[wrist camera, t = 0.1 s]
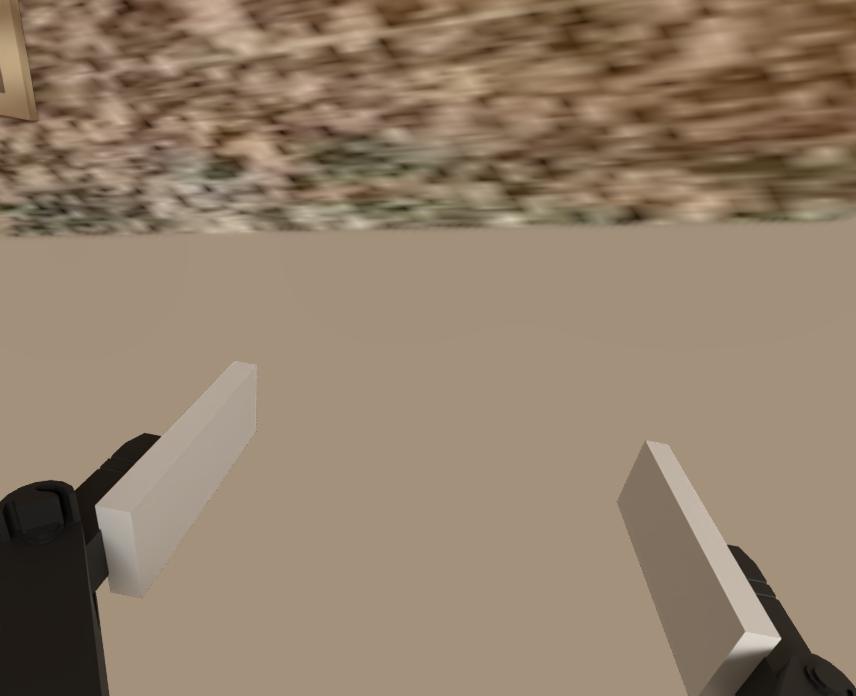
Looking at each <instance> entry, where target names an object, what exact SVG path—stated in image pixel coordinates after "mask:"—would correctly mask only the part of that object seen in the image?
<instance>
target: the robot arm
mask: <svg viewBox="0 0 856 696" xmlns="http://www.w3.org/2000/svg"><path fill="white" fill-rule="evenodd" d="M256 409H257V365H254V364H249V363H244V362H239V361H234V362H233V363H232V364H231V365H230V366H229V367H228V368H227V369H226V370H225V371H224V372H223V373H222V374H221V375H220V376H219V377H218V378H217V380H215V382H214V383H213V384H212V385H211V386H210V387H209V388H208V389H207V390H206V391H205V392H204V393H203V394H202V395H201V396H200V397H199V398H198V399H197V400H196V401H195V402H194V403H193V404H192V406H190V407H189V409H188V410H187V411H186V412H185V413H184V414H183V415H182V416H181V417H180V418H179V419H178V420H177V421H176V422H175V423H174V424H173V425H172V426H171V427H170V428H169V429H168V430H167V431H166V432H165V433H164V434H163V436H158V435H153V434H147V433H143V434H142V435H140V436H138V437H136V438H134V439H132V440H130V441H128V442H126V443H125V444H124V445H123V446H121V447H120V448H119V449H118V450H117V451H116V452H115V453H114V454H113V455H112V457H111V459H108V460H107V461H106V462H105V463H104V464H102V465H101V467H100V469H97V470H96V471H95V472H94V473H93V474H92V475H91V476H90V477H89V478H88V479H87V480H86V481H85V482H84V483H82V484H81V485H80V486H79V487H78V488H77V489H76V490H75V491H74V489H73V487H72V486H71V485H69V484H67V483H65V482H62V481H53V480H49V481H42V482H35V483H32V484H29V485H26V486H23V487H20V488H18V489H17V490H15V491H13V492H12V493H10V494H8V495H7V496H6V497H5V498H4V499H3V500H1V502H0V696H109V689H108V682H107V674H106V666H105V658H104V650H103V643H102V635H101V627H100V619H99V612H98V604H97V597H96V592H95V591H96V590H97V589H98V588H99V586H100V585H101V584H102V582H103V581H104V580H105V579H106V577H107V576H108V581H109V586H110V591H111V592H112V593H118V594H123V595H128V596H133V597H138V598H143V597H144V596H145V594H146V593H147V591H148V590H149V588H150V587H151V585H152V584H153V582H154V581H155V579H156V578H157V576H158V575H159V573H160V572H161V571H162V569H163V568H164V566H165V565H166V563H167V562H168V560H169V559H170V557H171V556H172V554H173V553H174V551H175V550H176V549H177V547H178V546H179V544H180V543H181V541H182V540H183V538H184V537H185V535H186V534H187V532H188V531H189V529H190V528H191V527H192V525H193V523H194V522H195V521H196V519H197V518H198V516H199V515H200V513H201V512H202V510H203V509H204V508H205V506H206V505H207V503H208V502H209V500H210V499H211V497H212V496H213V494H214V493H215V491H216V490H217V488H218V487H219V486H220V484H221V483H222V481H223V480H224V478H225V477H226V475H227V474H228V472H229V471H230V469H231V468H232V466H233V465H234V463H235V462H236V461H237V459H238V457H239V456H240V455H241V453H242V451H243V450H244V449H245V447H246V446H247V444H248V443H249V441H250V440H251V438H252V437H253V435H254V434H255V433H256ZM617 503H618V506H619V509H620V512H621V514H622V517H623V519H624V522H625V525H626V528H627V531H628V533H629V536H630V539H631V542H632V544H633V547H634V550H635V552H636V555H637V558H638V561H639V563H640V566H641V568H642V571H643V574H644V577H645V580H646V582H647V585H648V588H649V590H650V593H651V596H652V599H653V601H654V604H655V607H656V609H657V612H658V615H659V618H660V620H661V623H662V626H663V628H664V631H665V634H666V636H667V639H668V642H669V645H670V647H671V650H672V653H673V656H674V658H675V661H676V664H677V666H678V669H679V672H680V674H681V677H682V680H683V683H684V685H685V688H686V691H687V694H688V696H856V688H855V686H854V685H853V684H852V683H851V681H850V680H849V679H848V678H847V677H846V676H845V675H844V674H843V673H842V672H841V671H840V670H838V669H837V668H836V667H835V666H834V665H832V664H831V663H830V662H828V661H827V660H825V659H823V658H821V657H819V656H818V655H815V654H812V653H811V651H810V650H809V648H808V647H807V645H806V643H805V642H804V640H803V639H802V637H801V635H800V634H799V632H798V631H797V629H796V627H795V626H794V624H793V623H792V621H791V619H790V618H789V616H788V615H787V613H786V611H785V610H784V608H783V607H782V605H781V603H780V602H779V600H777V599H776V596H775V594H774V592H773V591H772V589H771V587H770V586H769V585H767V583H766V582H767V581H766V579H765V578H764V576H763V575H762V573H761V571H760V570H759V568H758V567H757V565H756V564H755V563H754V562H753V561H752V560H751V559H750V558H749V557H748V556H747V555H746V554H745V553H744V552H743V551H742V550H741V549H740V548H739V547H737V546H732V545H727V544H726V543H725V541H724V540H723V538H722V536H721V534H720V533H719V531H718V529H717V528H716V526H715V524H714V523H713V521H712V519H711V517H710V516H709V514H708V512H707V511H706V509H705V507H704V505H703V504H702V502H701V500H700V499H699V497H698V495H697V493H696V492H695V490H694V488H693V487H692V485H691V483H690V482H689V480H688V478H687V476H686V475H685V473H684V471H683V470H682V468H681V466H680V464H679V463H678V461H677V459H676V458H675V456H674V454H673V452H672V451H671V449H670V447H669V446H668V444H663V443H657V442H652V441H647V440H645V442H644V444H643V446H642V448H641V451H640V453H639V455H638V457H637V459H636V461H635V463H634V466H633V468H632V470H631V472H630V474H629V476H628V479H627V481H626V483H625V485H624V487H623V489H622V491H621V494H620V496H619V498H618V500H617Z"/></svg>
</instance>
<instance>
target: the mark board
mask: <svg viewBox="0 0 856 696" xmlns="http://www.w3.org/2000/svg"><path fill="white" fill-rule="evenodd" d="M0 115H4V116H10V117H15V118H20V119H25V120H38V116H37V110H36V104H35V98H34V92H33V86H32V81H31V75H30V69H29V63H28V57H27V51H26V46H25V40H24V34H23V28H22V22H21V16H20V11H19V5H18V0H0Z"/></svg>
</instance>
